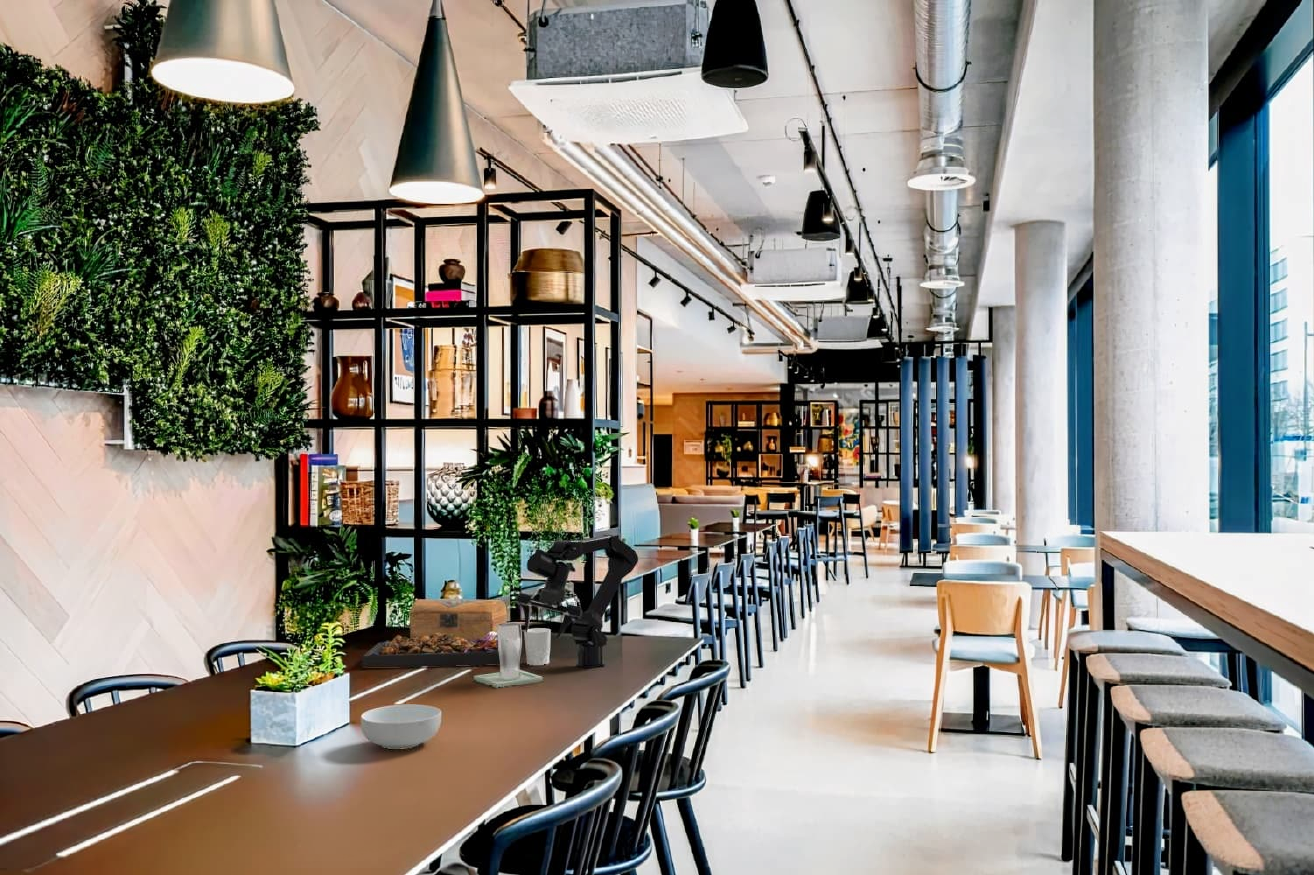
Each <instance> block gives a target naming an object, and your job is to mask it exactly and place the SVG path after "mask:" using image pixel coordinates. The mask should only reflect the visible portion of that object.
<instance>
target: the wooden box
mask: <svg viewBox="0 0 1314 875" xmlns="http://www.w3.org/2000/svg"><path fill="white" fill-rule="evenodd" d="M505 603H506V602H505V601H503V600H500V599H473V598H471V599H470V598H468V599H467V598H465V599H463V598H458V599H457V598H429V599H427V598H426V599H422V598H421V599H420V598H419V599H418V598H417V599H416V600H415V601H414V602H413V605H412V606H411V608H410V611H409V636H410V638H412V636H416V637H421V638H422V637H423V636H425V635H426V636H430V635H431V634H432V633H435V632H438V633H441V634H445V633H448V634H449V633H450V635H453V636H452V637H453V638H454V637H459V638H463V639H467V640H477V639H484V638H483V637H485V636H487V634H488V633H489V632H497V625H498V624H500V623H508V622H507V618H508V617H507V606H506V604H505ZM410 638H409V639H410Z"/></svg>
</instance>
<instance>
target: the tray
mask: <svg viewBox="0 0 1314 875" xmlns="http://www.w3.org/2000/svg"><path fill="white" fill-rule="evenodd" d="M499 673H500V671H499V672H492V673H487V674H485V673H484V674H478V675H473V681H475V680H476V681H475V682H478V683H481V684H483V683H484V684H483V685H487V686H489V685H492V686H494V687H493V688H495V687H497V688H496V689H499V688H498V687H503V688H505V687H504V686H509V687H511V686H510V685H516V686H520V685H521V686H522V685H528V684H534V683H540V682H541V681H542V682H544V677H543V676H541V675H537V674H534V673H531V672H528V671H524V670H522V669H520V674H521V678H520V679H517V680H500V679H499ZM542 682H541V683H542ZM492 686H491V687H492Z"/></svg>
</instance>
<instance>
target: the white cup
mask: <svg viewBox="0 0 1314 875" xmlns="http://www.w3.org/2000/svg"><path fill="white" fill-rule="evenodd" d="M551 631H552V630H551V629H550V628H545V627H543V628H541V627H540V628H538V627H534V628H528V631H527V632H525V630H524V632H523V633H524V645H525V646H524V647H525V656H526V664H527V665H528V664H529V665H528V666H545V665H544V664H546V665H549V664H550V654H551V633H552V632H551Z"/></svg>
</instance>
